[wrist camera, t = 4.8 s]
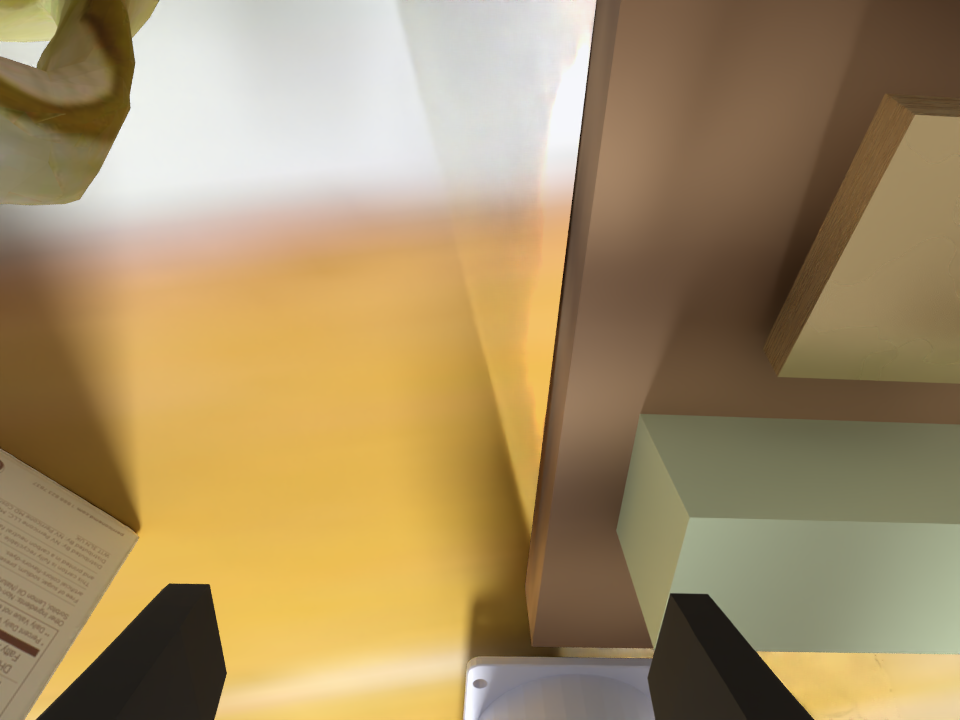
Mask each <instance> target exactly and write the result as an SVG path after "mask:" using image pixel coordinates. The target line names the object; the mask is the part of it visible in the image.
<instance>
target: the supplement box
mask: <svg viewBox="0 0 960 720" xmlns="http://www.w3.org/2000/svg"><path fill="white" fill-rule="evenodd" d="M138 539H139V536H138V535H137V534H136V533H135V532H134V531H133V530H132V529H130V528H129V527H127V526H125V525H124V524H122V523H121V522H119V521H118V520H116V519H115V518H113V517H112V516H110V515H108V514H107V513H105V512H104V511H102V510H100V509H99V508H97V507H95V506H93V505H92V504H90V503H89V502H87V501H86V500H84V499H82V498H81V497H79V496H77V495H76V494H74V493H72V492H71V491H69V490H68V489H66V488H64V487H63V486H61V485H59V484H58V483H56V482H55V481H53V480H51V479H50V478H48V477H46V476H45V475H43V474H42V473H40V472H38V471H37V470H35V469H33V468H32V467H30V466H28V465H27V464H25V463H23V462H22V461H20V460H18V459H17V458H15V457H14V456H12V455H11V454H9V453H7V452H6V451H4V450H2V449H1V448H0V720H25V718H26V717H27V715H28V713H29V712H30V710H31V709H32V707H33V706H34V704H35V702H36V701H37V699H38V698H39V696H40V695H41V693H42V691H43V690H44V688H45V687H46V685H47V684H48V682H49V680H50V679H51V677H52V676H53V674H54V672H55V671H56V669H57V668H58V666H59V665H60V663H61V662H62V660H63V658H64V657H65V655H66V654H67V652H68V650H69V649H70V647H71V646H72V644H73V642H74V641H75V639H76V638H77V636H78V635H79V633H80V631H81V630H82V628H83V627H84V625H85V624H86V622H87V620H88V619H89V617H90V616H91V614H92V612H93V611H94V609H95V608H96V606H97V604H98V603H99V601H100V600H101V598H102V596H103V595H104V593H105V592H106V590H107V589H108V587H109V585H110V584H111V582H112V581H113V579H114V577H115V576H116V574H117V573H118V571H119V569H120V568H121V566H122V565H123V563H124V561H125V560H126V558H127V557H128V555H129V554H130V552H131V551H132V549H133V548H134V546H135V544H136V543H137V541H138Z"/></svg>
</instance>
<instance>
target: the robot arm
mask: <svg viewBox="0 0 960 720" xmlns="http://www.w3.org/2000/svg"><path fill="white" fill-rule="evenodd" d="M226 674H227V672H226V667H225V662H224V656H223V651H222V646H221V641H220V636H219V630H218V625H217V620H216V615H215V610H214V605H213V599H212V594H211V589H210V584H168V585H167V586H166V587H165V588H164V589H162V590H161V592H160V593H159V594H158V595H157V596H156V597H155V598H154V599H153V600H152V601H151V602H150V603H149V604H148V605H147V606H146V607H145V608H144V609H143V610H142V612H141V613H140V614H139V615H138V616H137V617H136V618H135V619H134V620H133V621H132V622H131V623H130V624H129V625H128V626H127V627H126V628H125V630H124V631H123V632H122V633H121V634H120V635H119V636H118V637H117V638H116V639H115V640H114V641H113V642H112V643H111V644H110V645H109V646H108V647H107V648H106V649H105V650H104V651H103V653H102V654H101V655H100V656H99V657H98V658H97V659H96V660H95V661H94V662H93V663H92V664H91V665H90V666H89V667H88V668H87V669H86V670H85V671H84V672H83V673H82V674H81V675H80V676H79V677H78V678H77V679H76V680H75V681H74V682H73V683H72V684H71V685H70V686H69V687H68V688H67V689H66V690H65V691H64V692H63V693H62V694H61V695H60V696H59V697H58V698H57V699H56V700H55V701H54V702H53V703H52V704H51V705H50V706H49V707H48V708H47V709H46V710H45V711H44V712H43V713H42V714H41V715H40V716H39V717H38V718H37V719H36V720H214V718H215V715H216V711H217V708H218V704H219V700H220V696H221V693H222V689H223V685H224V681H225V678H226ZM463 720H814V719H813V718H812V717H811V715H810V714H809V713H808V712H807V711H806V710H805V709H804V707H803V706H802V705H801V704H800V703H799V702H798V701H797V700H796V698H795V697H794V696H793V695H792V694H791V693H790V692H789V690H788V689H787V688H786V687H785V686H784V685H783V683H782V682H781V681H780V680H779V679H778V677H777V676H776V675H775V674H774V673H773V672H772V670H771V669H770V668H769V667H768V666H767V664H766V663H765V662H764V661H763V660H762V658H761V657H760V656H759V655H758V654H757V652H756V651H755V650H754V649H753V648H752V646H751V645H750V644H749V643H748V642H747V640H746V639H745V638H744V637H743V635H742V634H741V633H740V632H739V631H738V629H737V628H736V627H735V626H734V625H733V623H732V622H731V621H730V620H729V618H728V617H727V616H726V615H725V614H724V612H723V611H722V610H721V609H720V608H719V606H718V605H717V604H716V603H715V602H714V600H713V599H712V598H711V597H710V596H709V595H708V594H689V593H670V596H669V599H668V603H667V607H666V611H665V614H664V618H663V622H662V625H661V629H660V633H659V637H658V640H657V644H656V648H655V651H654V655H653V658H584V657H511V656H478V657H474V658H472V659H471V660H470V661H469V662H468V664H467V669H466V683H465V698H464V712H463Z"/></svg>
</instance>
